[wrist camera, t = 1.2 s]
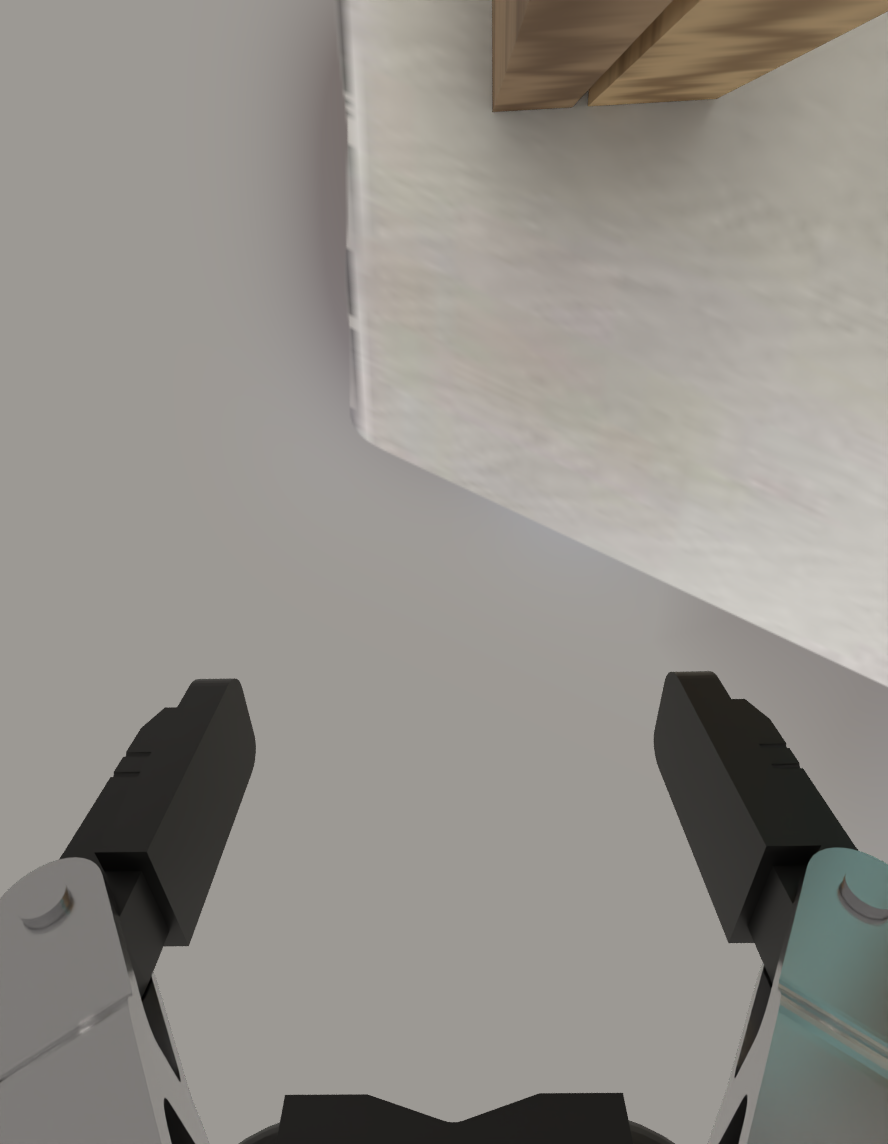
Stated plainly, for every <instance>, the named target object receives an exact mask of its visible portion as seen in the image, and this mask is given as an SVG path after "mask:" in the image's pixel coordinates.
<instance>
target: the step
mask: <svg viewBox="0 0 888 1144" xmlns="http://www.w3.org/2000/svg"><path fill="white" fill-rule="evenodd" d="M672 1H673V0H492V98H493V112H500V111H517V110H534V109H551V108H568V107H573V106H574V105H575V103H576V102H577V101H578V100H579V99H580V98H581V97H582V96H583V95H584V94H585V93H586V92H587V91H588V90H589V89H590V88H591V87H592V85H593V84H594V83H595V82H596V81H597V80H598V79H599V78H600V77H601V76H602V75H603V74H604V73H605V72H606V71H607V70H608V69H609V68H610V66H611V65H612V64H613V63H614V62H615V61H616V60H617V59H618V58H619V57H620V56H621V55H622V54H623V53H624V52H625V51H626V50H627V48H628V47H629V46H630V45H631V44H632V43H633V42H634V41H635V40H636V39H637V38H638V37H639V36H640V35H641V34H642V33H643V32H644V30H645V29H646V28H647V27H648V26H649V25H650V24H651V23H652V22H653V21H654V20H655V19H656V18H657V17H658V16H659V15H660V14H661V13H662V11H663V10H664V9H665V8H666V7H667V6H668V5H669V4H670V3H671V2H672Z"/></svg>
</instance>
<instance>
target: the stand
mask: <svg viewBox="0 0 888 1144" xmlns="http://www.w3.org/2000/svg"><path fill="white" fill-rule="evenodd" d="M887 11H888V0H673V1H672V2H671V3H670V4H669V5H668V6H667V7H666V8H665V9H664V10H663V11H662V13H661V14H660V15H659V16H658V17H657V18H656V19H655V20H654V21H653V22H652V23H651V24H650V25H649V26H648V27H647V28H646V29H645V30H644V32H643V33H642V34H641V35H640V36H639V37H638V38H637V39H636V40H635V41H634V42H633V43H632V44H631V45H630V46H629V47H628V48H627V50H626V51H625V52H624V53H623V54H622V55H621V56H620V57H619V58H618V59H617V60H616V61H615V62H614V63H613V64H612V65H611V66H610V68H609V69H608V70H607V71H606V72H605V73H604V74H603V75H602V76H601V77H600V78H599V79H598V80H597V81H596V82H595V83H594V84H593V85H592V87H591V88H590V89H589V96H588V106H602V105H619V104H636V103H653V102H671V101H688V100H705V99H717V98H719V97H721V96H723V95H725V94H727V93H729V92H731V91H733V90H735V89H737V88H739V87H741V86H743V85H745V84H746V83H748V82H750V81H752V80H754V79H756V78H758V77H760V76H762V75H764V74H766V73H768V72H770V71H772V70H774V69H776V68H778V67H780V66H782V65H784V64H786V63H788V62H790V61H791V60H793V59H795V58H797V57H799V56H801V55H803V54H805V53H807V52H809V51H811V50H813V49H815V48H817V47H819V46H821V45H823V44H825V43H827V42H829V41H831V40H833V39H834V38H836V37H838V36H840V35H842V34H844V33H846V32H848V31H850V30H852V29H854V28H856V27H858V26H860V25H862V24H864V23H866V22H868V21H870V20H872V19H874V18H876V17H878V16H879V15H881V14H883V13H885V12H887Z"/></svg>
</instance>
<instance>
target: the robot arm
mask: <svg viewBox="0 0 888 1144" xmlns="http://www.w3.org/2000/svg"><path fill="white" fill-rule="evenodd" d="M654 750H655V756H656V760H657V764H658V767H659V769H660V772H661V775H662V777H663V780H664V782H665V785H666V787H667V790H668V792H669V795H670V797H671V800H672V802H673V805H674V807H675V810H676V812H677V815H678V817H679V820H680V822H681V825H682V827H683V830H684V832H685V835H686V837H687V840H688V842H689V845H690V847H691V850H692V852H693V855H694V857H695V860H696V862H697V865H698V867H699V870H700V872H701V875H702V877H703V880H704V883H705V885H706V888H707V890H708V893H709V895H710V897H711V900H712V902H713V905H714V907H715V910H716V913H717V915H718V918H719V920H720V922H721V925H722V927H723V930H724V932H725V935H726V938H727V940H728V942H729V943H755V945H756V947H757V950H758V952H759V954H760V957H761V959H762V961H763V964H762V966H761V969H760V971H759V974H758V977H757V981H756V985H755V988H754V992H753V995H752V999H751V1003H750V1006H749V1010H748V1014H747V1017H746V1021H745V1024H744V1028H743V1032H742V1035H741V1039H740V1043H739V1046H738V1050H737V1053H736V1057H735V1061H734V1064H733V1068H732V1071H731V1075H730V1078H729V1082H728V1086H727V1089H726V1092H725V1095H724V1098H723V1101H722V1104H721V1107H720V1109H719V1112H718V1114H717V1117H716V1120H715V1123H714V1126H713V1129H712V1132H711V1135H710V1138H709V1141H708V1144H888V865H887V864H886V863H884V862H883V861H880V860H879V859H877V858H875V857H873V856H871V855H868V854H866V853H863V852H860V851H858V849H857V848H856V847H855V845H854V844H853V843H852V841H851V839H850V838H849V836H848V835H847V833H846V832H845V831H844V829H843V828H842V826H841V825H840V823H839V822H838V820H837V819H836V817H835V816H834V814H833V813H832V811H831V810H830V808H829V807H828V805H827V804H826V802H825V801H824V799H823V798H822V796H821V795H820V793H819V792H818V790H817V789H816V787H815V786H814V784H813V783H812V781H811V780H810V778H809V777H808V775H807V774H806V772H805V771H804V769H803V768H802V769H801V768H800V766H799V762H798V760H797V759H796V758H795V756H794V754H793V753H792V751H791V750H790V748H787V747H786V742H785V741H784V739H783V738H782V737H781V735H780V733H779V732H778V730H777V729H776V728H775V726H774V724H773V723H772V722H771V720H770V719H769V718H768V717H767V716H765V715H764V714H763V713H761V712H760V711H759V710H758V709H757V708H755V707H754V706H753V705H752V704H750V703H749V702H748V701H747V700H745V699H731V698H730V696H729V695H728V693H727V691H726V690H725V688H724V687H723V685H722V683H721V682H720V680H719V678H718V677H717V675H716V674H715V673H713V672H711V671H698V672H670V673H668V675H667V676H666V679H665V683H664V687H663V692H662V697H661V702H660V707H659V711H658V716H657V721H656V726H655V732H654ZM255 753H256V744H255V736H254V732H253V729H252V724H251V721H250V716H249V713H248V709H247V705H246V701H245V697H244V693H243V690H242V686H241V684H240V682H239V680H237V679H197V680H195V681H193V682H192V683H191V685H190V686H189V688H188V690H187V691H186V693H185V695H184V697H183V698H182V700H181V702H180V704H179V705H178V707H176V708H164V709H163V710H162V711H161V712H159V713H158V714H157V715H156V716H155V717H154V718H152V719H151V720H150V721H149V722H148V723H147V724H145V725H144V726H143V727H142V728H141V729H140V731H139V732H138V734H137V736H136V737H135V739H134V741H133V742H132V744H131V745H130V747H129V748H128V750H127V752H126V757H123V758H122V760H121V762H120V763H119V765H118V766H117V768H116V769H115V771H114V777H111V778H110V779H109V781H108V782H107V784H106V785H105V787H104V789H103V790H102V792H101V794H100V795H99V797H98V798H97V800H96V802H95V803H94V805H93V807H92V808H91V810H90V811H89V813H88V814H87V816H86V818H85V819H84V821H83V823H82V824H81V826H80V827H79V829H78V830H77V832H76V834H75V835H74V837H73V839H72V840H71V842H70V843H69V845H68V847H67V848H66V850H65V851H64V853H63V854H62V856H61V857H60V859H59V860H56V861H53V862H50V863H48V864H46V865H43V866H41V867H39V868H37V869H35V870H34V871H32V872H30V873H29V874H27V875H26V876H24V877H23V878H21V879H20V880H19V881H18V882H16V883H15V884H14V885H13V886H12V887H11V888H10V889H9V890H8V891H7V892H6V893H5V894H4V895H3V896H2V897H1V899H0V1144H209V1141H208V1138H207V1136H206V1133H205V1130H204V1127H203V1125H202V1122H201V1120H200V1117H199V1115H198V1112H197V1110H196V1107H195V1105H194V1103H193V1100H192V1097H191V1094H190V1091H189V1088H188V1085H187V1082H186V1078H185V1075H184V1071H183V1068H182V1064H181V1061H180V1058H179V1054H178V1051H177V1048H176V1044H175V1041H174V1037H173V1034H172V1031H171V1027H170V1024H169V1021H168V1017H167V1014H166V1010H165V1007H164V1003H163V1000H162V997H161V993H160V990H159V987H158V983H157V980H156V977H155V975H154V972H153V970H154V968H155V966H156V963H157V960H158V958H159V956H160V953H161V950H162V948H163V946H189V944H190V941H191V938H192V936H193V933H194V930H195V927H196V925H197V922H198V919H199V916H200V913H201V911H202V908H203V905H204V903H205V900H206V897H207V894H208V892H209V889H210V886H211V883H212V881H213V878H214V875H215V872H216V870H217V866H218V864H219V861H220V858H221V856H222V853H223V850H224V848H225V845H226V842H227V839H228V837H229V834H230V831H231V828H232V826H233V823H234V820H235V817H236V815H237V812H238V809H239V806H240V803H241V801H242V798H243V795H244V792H245V790H246V787H247V784H248V782H249V779H250V776H251V773H252V770H253V767H254V762H255ZM239 1144H675V1143H673V1142H672V1141H670V1140H668V1139H667V1138H666V1137H664V1136H662V1135H660V1134H658V1133H656V1132H654V1131H652V1130H650V1129H648V1128H646V1127H644V1126H642V1125H640V1124H637V1123H635V1122H632V1121H629V1120H628V1116H627V1112H626V1106H625V1101H624V1097H623V1093H553V1094H552V1093H551V1094H550V1093H548V1094H547V1093H546V1094H545V1093H543V1094H542V1093H541V1094H537V1095H534V1096H531V1097H528V1098H525V1099H523V1100H520V1101H517V1102H514V1103H511V1104H509V1105H506V1106H503V1107H500V1108H497V1109H495V1110H492V1111H489V1112H486V1113H484V1114H481V1115H478V1116H475V1117H472V1118H470V1119H467V1120H464V1121H460V1122H453V1123H452V1122H446V1121H442V1120H440V1119H436V1118H434V1117H431V1116H428V1115H425V1114H422V1113H419V1112H416V1111H413V1110H411V1109H408V1108H405V1107H402V1106H399V1105H396V1104H393V1103H390V1102H387V1101H385V1100H382V1099H379V1098H376V1097H373V1096H370V1095H285V1099H284V1105H283V1110H282V1115H281V1120H280V1123H278V1124H275V1125H272V1126H270V1127H267V1128H265V1129H263V1130H261V1131H259V1132H258V1133H256V1134H254V1135H252V1136H250V1137H248V1138H246V1139H245V1140H243V1141H242V1142H240V1143H239Z"/></svg>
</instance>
